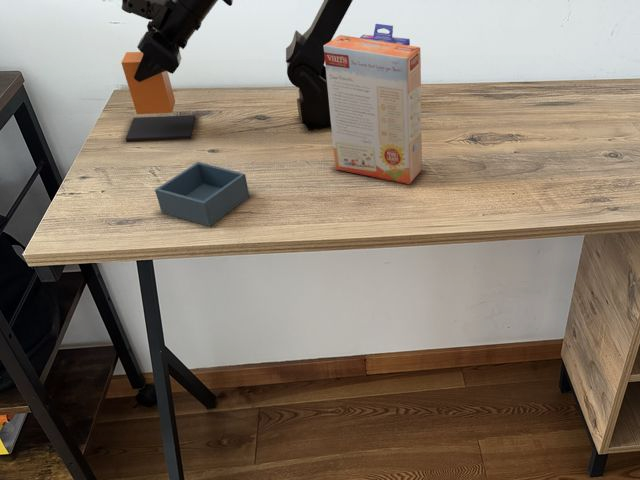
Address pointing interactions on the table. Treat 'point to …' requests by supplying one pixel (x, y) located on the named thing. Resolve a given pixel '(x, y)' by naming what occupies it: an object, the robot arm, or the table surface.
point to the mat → (161, 128)
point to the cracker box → (375, 107)
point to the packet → (148, 88)
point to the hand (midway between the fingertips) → (138, 74)
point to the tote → (202, 193)
